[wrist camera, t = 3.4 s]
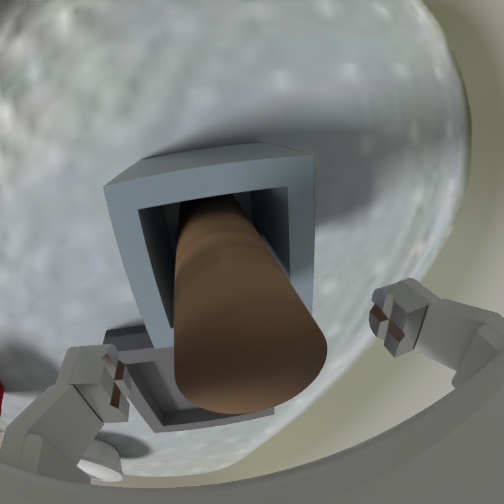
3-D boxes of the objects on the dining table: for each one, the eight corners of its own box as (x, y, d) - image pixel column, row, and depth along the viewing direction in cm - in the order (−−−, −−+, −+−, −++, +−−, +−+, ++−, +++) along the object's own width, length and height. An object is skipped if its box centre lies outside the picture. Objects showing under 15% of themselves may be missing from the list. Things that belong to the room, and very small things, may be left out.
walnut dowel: (175, 186, 18) (153, 330, 5) (234, 177, 18) (333, 294, 6) (184, 241, 19) (195, 422, 7) (239, 232, 20) (320, 394, 8)
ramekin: (62, 446, 31) (59, 469, 26) (60, 422, 28) (55, 450, 23) (119, 462, 35) (118, 485, 30) (128, 443, 32) (128, 471, 27)
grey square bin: (140, 159, 17) (103, 186, 9) (259, 141, 19) (313, 155, 11) (162, 266, 21) (154, 348, 13) (267, 248, 22) (311, 318, 14)
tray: (106, 330, 22) (100, 353, 20) (260, 305, 25) (269, 326, 22) (154, 413, 29) (154, 432, 26) (267, 395, 31) (274, 414, 29)
